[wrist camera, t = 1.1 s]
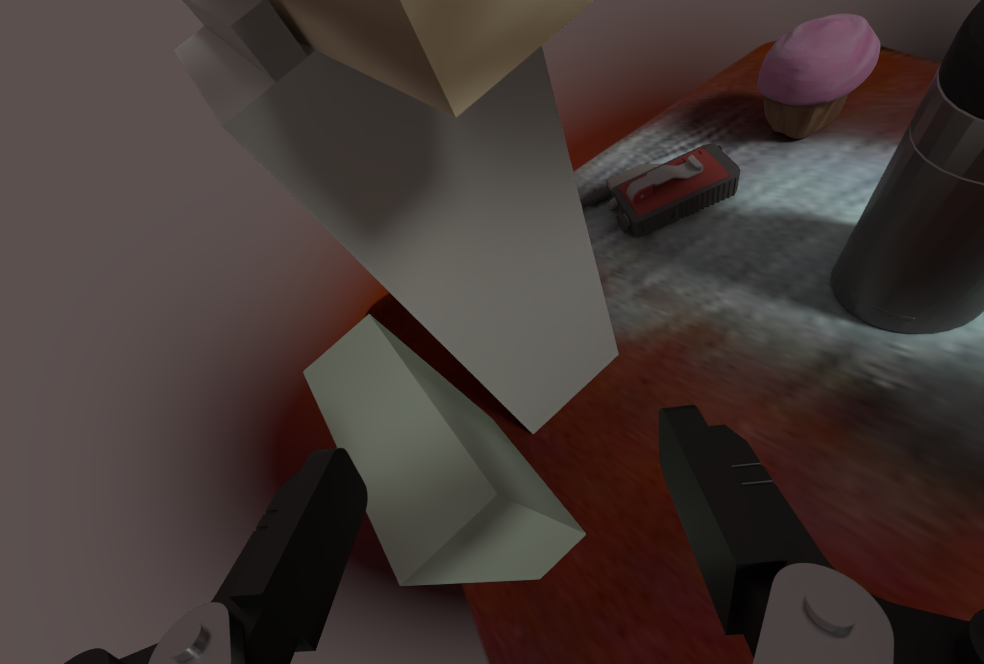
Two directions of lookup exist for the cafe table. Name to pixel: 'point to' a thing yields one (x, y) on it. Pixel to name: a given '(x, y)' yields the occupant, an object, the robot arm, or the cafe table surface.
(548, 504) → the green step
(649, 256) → the cafe table surface
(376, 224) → the grey stand
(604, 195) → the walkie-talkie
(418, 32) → the birch bar
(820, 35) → the cupcake
